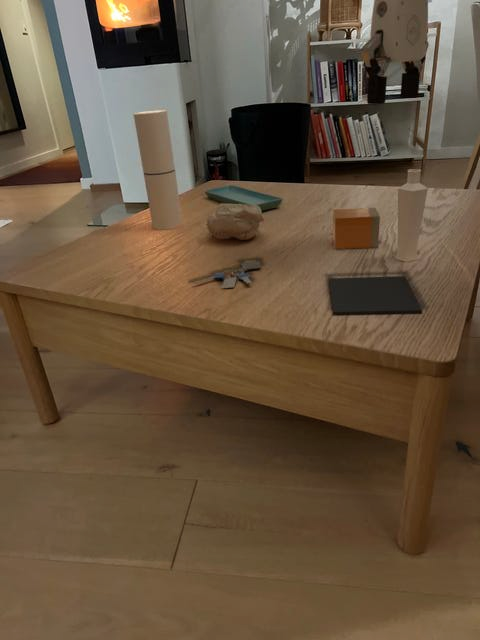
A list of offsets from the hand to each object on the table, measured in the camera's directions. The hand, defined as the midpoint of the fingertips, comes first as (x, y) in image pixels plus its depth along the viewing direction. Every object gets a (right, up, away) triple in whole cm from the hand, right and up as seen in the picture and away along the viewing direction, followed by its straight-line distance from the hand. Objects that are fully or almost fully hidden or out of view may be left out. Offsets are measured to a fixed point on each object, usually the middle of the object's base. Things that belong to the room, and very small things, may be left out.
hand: (393, 100), depth 82 cm
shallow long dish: (-26, -6, +46) cm, 53 cm away
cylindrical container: (-44, -15, +32) cm, 56 cm away
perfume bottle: (+3, -27, +2) cm, 27 cm away
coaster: (-7, -34, -10) cm, 36 cm away
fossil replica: (-27, -21, +19) cm, 39 cm away
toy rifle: (-27, -31, 0) cm, 41 cm away
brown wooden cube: (-4, -20, +9) cm, 23 cm away
